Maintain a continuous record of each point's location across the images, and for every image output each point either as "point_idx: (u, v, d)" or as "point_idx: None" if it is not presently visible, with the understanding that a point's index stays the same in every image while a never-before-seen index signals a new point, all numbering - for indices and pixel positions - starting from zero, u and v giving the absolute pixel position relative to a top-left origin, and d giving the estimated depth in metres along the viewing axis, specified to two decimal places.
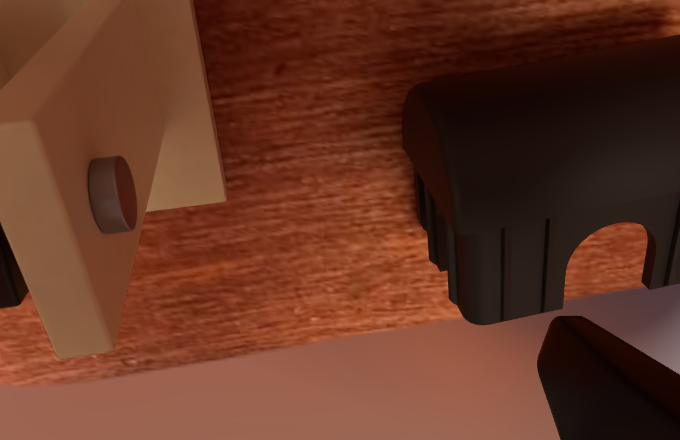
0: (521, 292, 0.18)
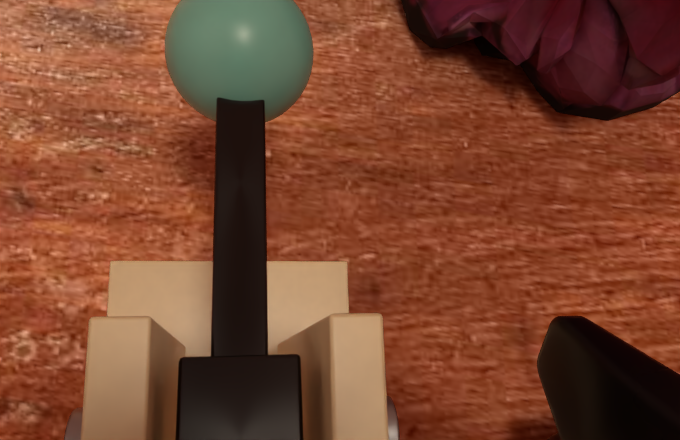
0: None
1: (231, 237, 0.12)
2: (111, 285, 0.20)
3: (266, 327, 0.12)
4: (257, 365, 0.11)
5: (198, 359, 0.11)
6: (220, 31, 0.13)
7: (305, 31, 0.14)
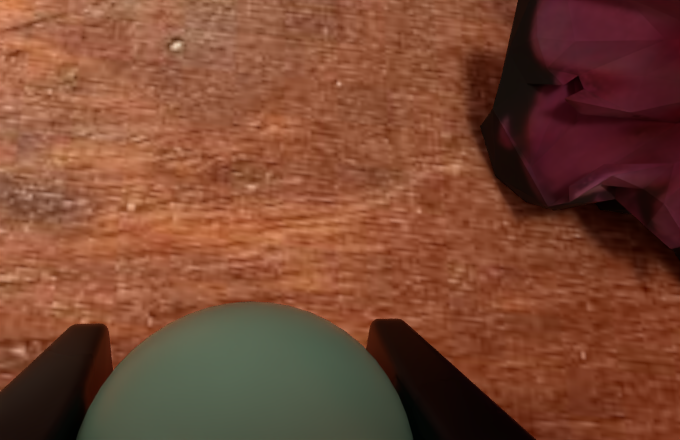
0: None
1: None
2: None
3: None
4: None
5: None
6: None
7: None
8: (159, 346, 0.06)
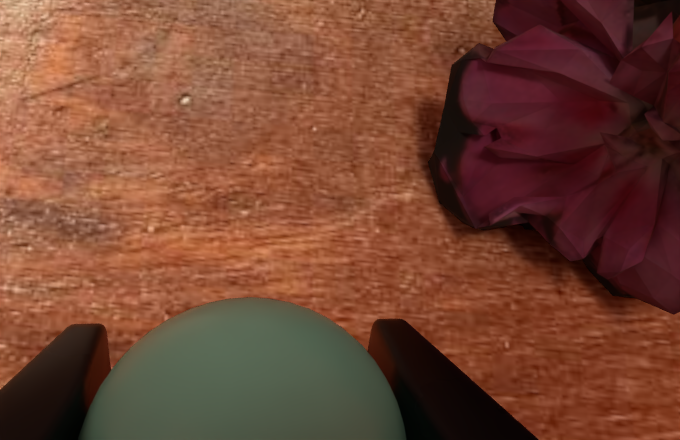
0: None
1: None
2: None
3: None
4: None
5: None
6: None
7: None
8: (153, 395, 0.05)
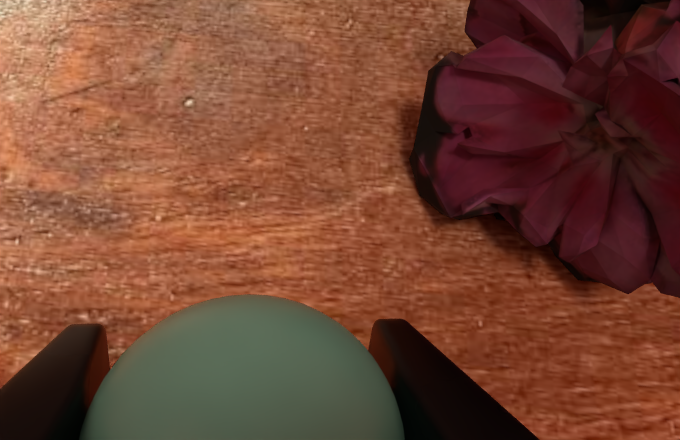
0: None
1: None
2: None
3: None
4: None
5: None
6: None
7: None
8: (149, 429, 0.05)
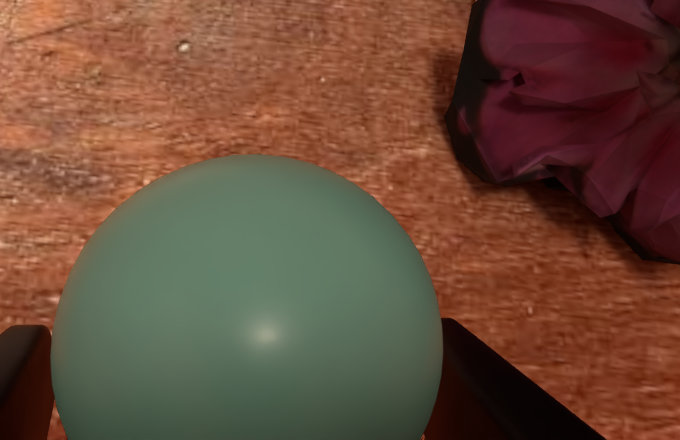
0: None
1: None
2: None
3: None
4: None
5: None
6: None
7: (436, 366, 0.05)
8: (146, 221, 0.05)
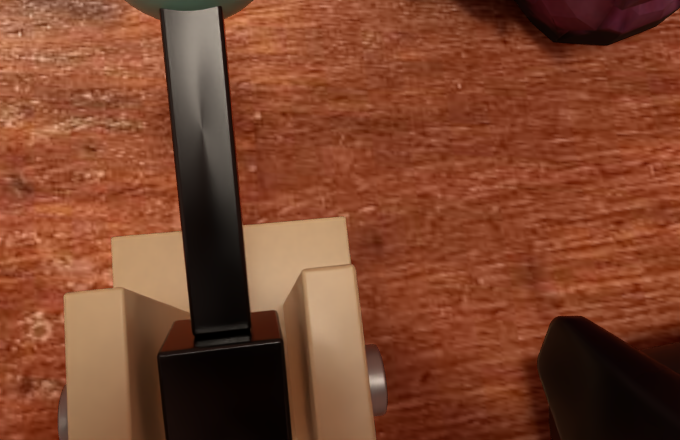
0: None
1: (198, 200, 0.11)
2: (114, 261, 0.20)
3: (247, 297, 0.11)
4: (238, 354, 0.11)
5: (176, 354, 0.10)
6: None
7: None
8: None
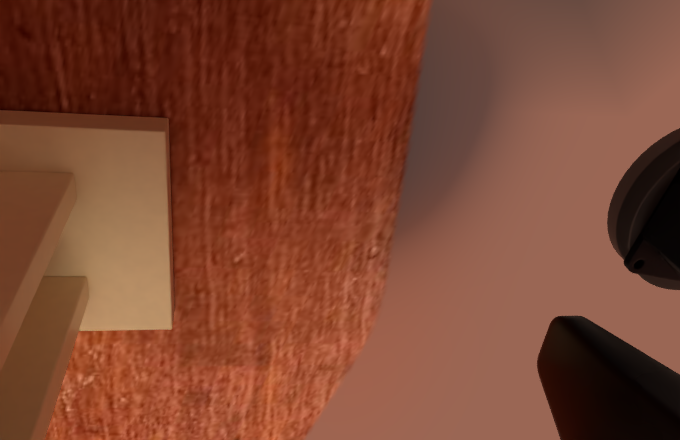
0: None
1: None
2: None
3: None
4: None
5: None
6: None
7: None
8: None
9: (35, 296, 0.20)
